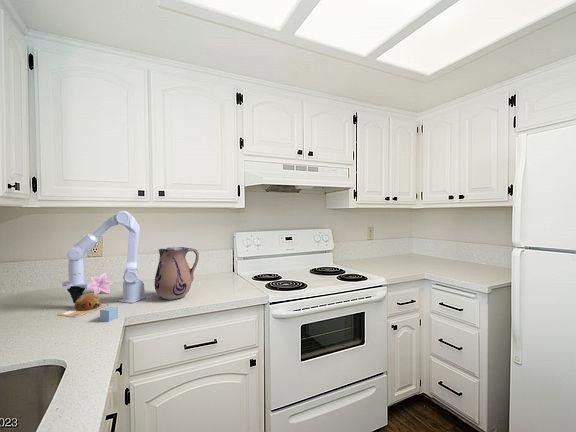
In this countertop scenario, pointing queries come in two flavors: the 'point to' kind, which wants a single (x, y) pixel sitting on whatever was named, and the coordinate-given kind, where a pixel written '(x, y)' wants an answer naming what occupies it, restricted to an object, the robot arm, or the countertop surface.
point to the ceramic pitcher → (174, 272)
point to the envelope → (78, 312)
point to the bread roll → (87, 302)
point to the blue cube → (108, 314)
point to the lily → (100, 284)
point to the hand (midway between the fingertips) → (76, 302)
